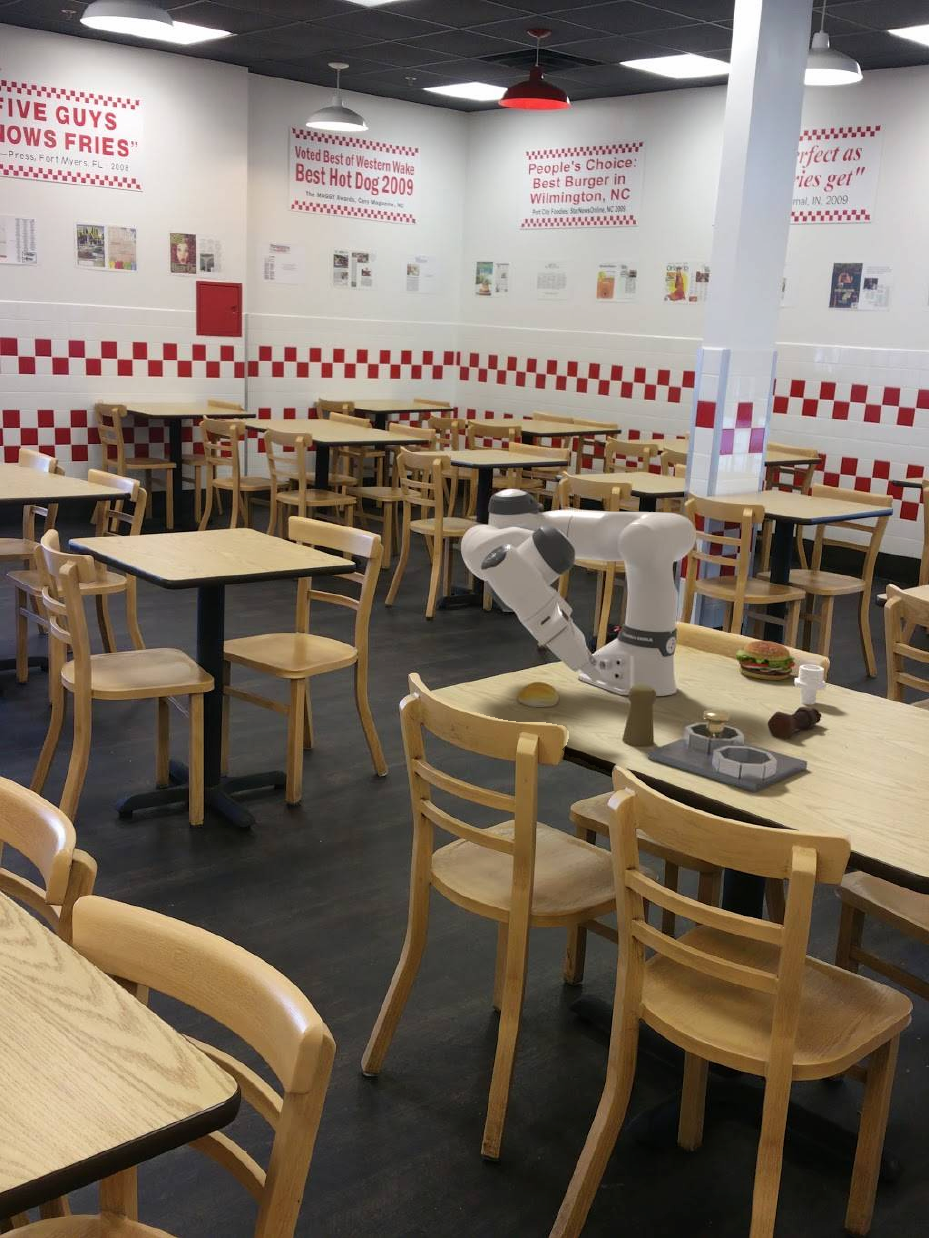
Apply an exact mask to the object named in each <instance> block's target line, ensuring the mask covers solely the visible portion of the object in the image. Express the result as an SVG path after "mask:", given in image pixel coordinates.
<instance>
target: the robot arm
mask: <svg viewBox="0 0 929 1238" xmlns="http://www.w3.org/2000/svg"><path fill="white" fill-rule="evenodd" d="M487 508H488V509H487V512H488V513H489V514H488V523H487V524H476V525H474V526H472V527H470V528H469V529H468V530H467V531H466V532H465V533H464V534H463V536H462V539H461V542H460V553H461V557H462V559H463V562H464V564H465V566H466V568H467V569H468V570H469V571H470V572H471V573H472V574H473V576H474V575H475V576H476V577H477V578H479V579H480V580H482V581H485V582H486V583H485V593H486V594H487V595H488V596H489V597H490V598H492V599H493V600H494V602H495V603H496V604H497V605H498V606H499V607H500V609H502V610H501V611H502V612H512V613H513V612H514V613H515V614H516V616H517V618H518V620H519V621H520V623H521V624H522V625H523V626H524V627H525V628H526V629H527V631H528V632H529V633H530V634H531V635H532V636H533V637H534V639H536V641H538V642H539V644H540V645H542V646H544V645H546V647H547V648H548V649H549V650H551V652H552V653H553V654H554V655H555V656H556V657H557V658H558V659H559V660H560V661H561V662H562V663H563V664H564V665H565V666H566V667H568V668H569V669H570V670H572V671H573V672H575V673H576V672H578V671H579V670H580V671H581V672H579V673H578V677H577V679H578V680H581V681H583V682H584V683H585V682H586V683H588V684H591V685H594V686H596V687H599V688H602V689H605V690H607V691H610V692H612V693H615V694H618V695H620V696H629V691H630V689H631V688H632V687H633V686H635V685H646V686H650V687H652V688H653V689H654V690H655V692H656V697H664V696H671V695H673V694H676V693H677V692H678V689H677V685H676V677H675V662H674V660H675V659H674V658H675V655H674V654H675V652H676V648H677V647H676V646H677V638H678V629H677V626H676V624H677V617H678V616H677V614H678V608H679V607H678V604H679V592H678V590H677V588H676V585H675V579H674V570H673V569H674V568H673V567H674V563H675V562H677V561H680V560H682V559H684V558H685V557H686V556H687V555H688V554H689V553H690V552H691V551H692V550H693V549H694V546H695V544H696V541H697V530H696V528H695V526H694V523H693V522H692V521H691V520H690V519H689V518H688V517H686V516H684V515H681V514H678V513H673V512H662V511H661V512H657V511H656V512H653V511H651V512H649V511H604V510H589V509H588V510H587V509H558V510H557V509H555V510H550V511H544V512H540V511H541V510H544V506H543V504H542V503H540V502H538V501H537V499H536V498H535V497H534V496H533V494H530V493H529V492H527V491H525V490H521V489H517V488H506V489H502V490H501V491H498V492H495V493H494V494H492V496H491V497H490V499H489V503H488V507H487ZM575 559H580V560H591V561H600V562H601V561H602V562H624V568H625V574H626V583H627V585H626V586H627V599H626V611H625V620H624V621H625V622H623V623H620V625H617V626H614V628H616V629H614V633H615V632H618V634H617V637H616V638H615V639H613V640H612V641H610V642H609V643H607V644H605V645H604V646H603V647H601V648H599V649H597V650H596V651H595V652H594V653H593V654H592V652H591V651H590V649H589V648H588V646H587V643H586V637H585V635H584V634H583V632H582V631H581V629H580V628H578V626H577V625H576V624H575V623H574V620H573V618H572V617H571V614H572V613H573V609H572V607H571V606H570V605H569V603H568V602H567V601H566V600H565V599H564V598H563V597H562V596H561V595H560V593H559V592H558V591H557V590H556V589H555V588H554V587H552V586H551V584H553V583H554V582H555V581H556V580H557V579H558V578H559V577H561V576H562V575H564V574H565V573H567V572H568V571H569V570H571V569H572V568H573V567H574V564H575Z"/></svg>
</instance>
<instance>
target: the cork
mask: <svg viewBox="0 0 929 1238" xmlns="http://www.w3.org/2000/svg"><path fill="white" fill-rule="evenodd" d="M656 699H657V696H656V692H655V690H654V689H653V688H652V687H650V686H646V685H635V686H633V687H632V688H631V689H630V691H629V695H628V700H629V701H630V704H629V710H628V715H627V717H626V722H625V727H624V731H623V735H622V740H621V741H622V742H623V743H624V744H626V745H629V746H633V747H641V748H642V747H643V748H645V747H652V746H653V745H654V744H655V738H654V737H655V736H654V713H653V712H654V711H653V710H654V709H653V704H654V703H655V702H656Z"/></svg>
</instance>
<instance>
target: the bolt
mask: <svg viewBox="0 0 929 1238" xmlns="http://www.w3.org/2000/svg"><path fill="white" fill-rule="evenodd" d="M821 718H822V714H821V713H820V711H819V710H818V709H816V708H814V707H812V708H811V707H806V706H800V707H799V708H798V709H796V711H795V712H794V713H793V714H790V713H787V712H786V713H785V712H781V711H776V712H775V713H773V714H772V716H771V717H770V718H769V720H768V722H767V726H768V730H769V733H770V734H771V736H773V737H775V738H777V739H781V740H788V739H789V740H790V738H791V737H792V736H793V735H794V733H795V732H796V731H797V730H799V729H800V730H805V731H810V730H812V729H813V728H814V727H815V725H816V724H819V722H821Z"/></svg>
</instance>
